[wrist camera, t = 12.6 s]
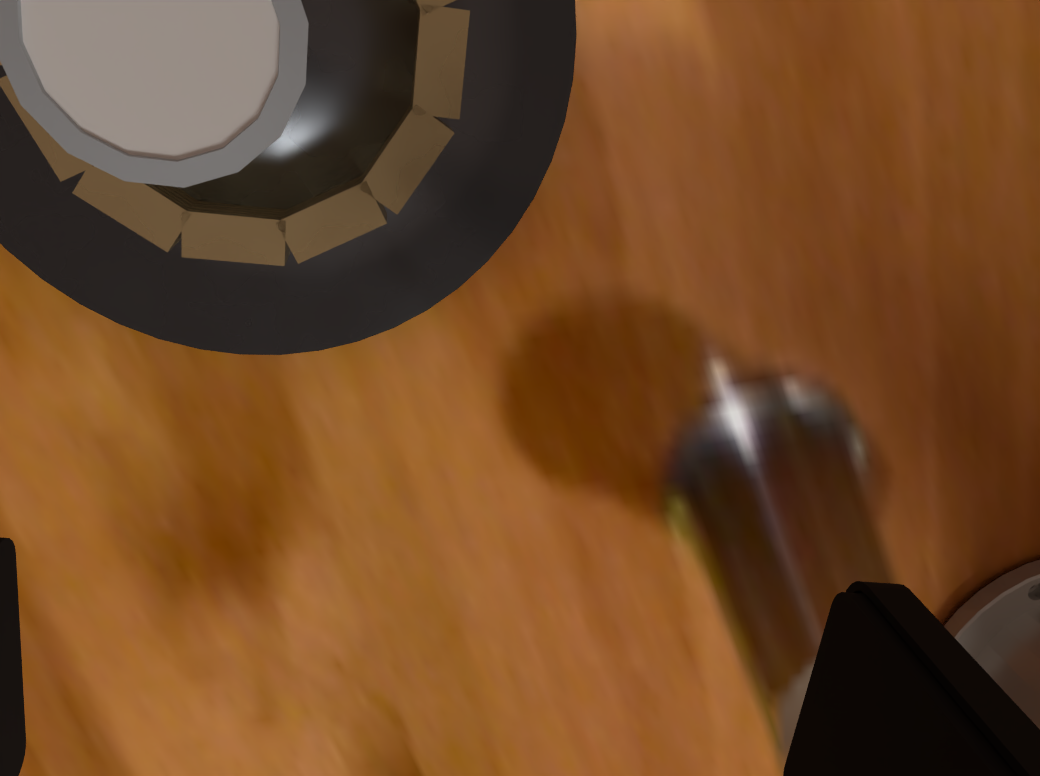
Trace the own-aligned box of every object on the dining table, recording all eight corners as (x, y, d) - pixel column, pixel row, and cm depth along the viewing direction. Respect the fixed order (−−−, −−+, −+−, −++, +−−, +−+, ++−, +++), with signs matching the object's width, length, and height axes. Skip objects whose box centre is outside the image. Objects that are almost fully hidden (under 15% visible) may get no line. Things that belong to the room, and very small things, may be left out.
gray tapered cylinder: (114, 162, 27) (31, 201, 21) (57, -91, 25) (-58, -137, 18) (342, 144, 28) (329, 176, 22) (309, -103, 25) (283, -152, 19)
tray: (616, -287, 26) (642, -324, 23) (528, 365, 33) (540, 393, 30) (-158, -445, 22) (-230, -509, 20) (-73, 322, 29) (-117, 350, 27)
